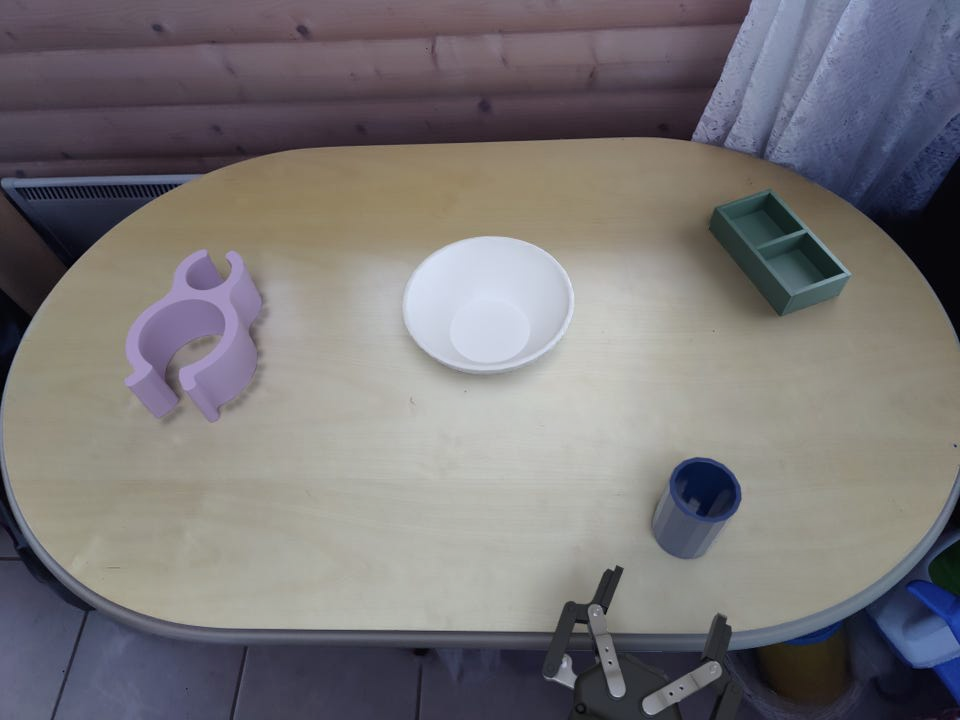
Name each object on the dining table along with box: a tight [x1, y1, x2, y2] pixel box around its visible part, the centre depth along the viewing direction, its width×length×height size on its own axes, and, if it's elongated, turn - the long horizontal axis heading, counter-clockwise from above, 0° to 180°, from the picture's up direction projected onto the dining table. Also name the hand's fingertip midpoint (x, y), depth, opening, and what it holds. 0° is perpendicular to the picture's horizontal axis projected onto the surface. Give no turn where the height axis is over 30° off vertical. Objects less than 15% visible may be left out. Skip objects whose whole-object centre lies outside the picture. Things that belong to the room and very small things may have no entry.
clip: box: [123, 248, 263, 423], centre depth 81 cm, size 20×12×7 cm, turn 174°
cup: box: [651, 456, 743, 560], centre depth 64 cm, size 6×6×10 cm
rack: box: [708, 188, 853, 317], centre depth 85 cm, size 8×16×4 cm, turn 21°
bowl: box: [401, 235, 575, 376], centre depth 80 cm, size 20×20×7 cm
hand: (668, 591), depth 56 cm, fingers open, 8 cm apart
